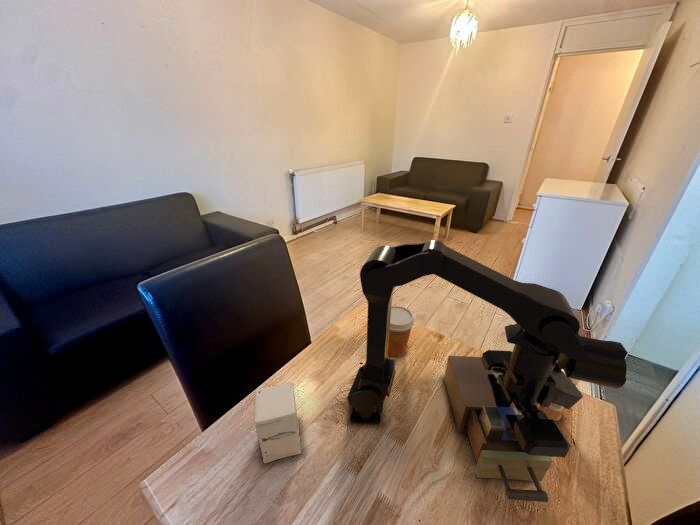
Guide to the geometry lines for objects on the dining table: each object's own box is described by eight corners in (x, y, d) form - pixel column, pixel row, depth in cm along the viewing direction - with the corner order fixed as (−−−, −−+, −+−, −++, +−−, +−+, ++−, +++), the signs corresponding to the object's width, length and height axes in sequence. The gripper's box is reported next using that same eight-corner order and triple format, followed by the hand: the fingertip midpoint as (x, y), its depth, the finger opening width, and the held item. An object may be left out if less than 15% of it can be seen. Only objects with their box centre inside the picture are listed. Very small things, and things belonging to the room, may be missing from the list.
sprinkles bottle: (564, 414, 63) (586, 371, 57) (554, 425, 61) (576, 381, 55) (542, 399, 67) (561, 357, 61) (532, 409, 64) (550, 366, 58)
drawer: (557, 515, 46) (571, 495, 44) (486, 510, 47) (495, 490, 44) (510, 416, 62) (518, 396, 59) (457, 413, 63) (462, 394, 60)
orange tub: (415, 344, 83) (420, 311, 78) (403, 366, 76) (407, 331, 70) (386, 333, 88) (388, 300, 82) (371, 352, 80) (373, 318, 75)
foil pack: (521, 420, 55) (526, 407, 53) (532, 441, 51) (538, 429, 49) (478, 417, 55) (482, 405, 53) (486, 439, 51) (491, 426, 50)
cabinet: (520, 435, 59) (531, 410, 55) (458, 432, 60) (465, 406, 56) (494, 381, 71) (502, 357, 68) (443, 379, 72) (448, 355, 68)
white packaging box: (263, 465, 54) (252, 423, 48) (263, 428, 61) (254, 388, 55) (302, 455, 56) (296, 413, 50) (298, 420, 62) (292, 379, 57)
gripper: (631, 423, 37) (585, 487, 44) (549, 328, 53) (526, 385, 60) (542, 418, 37) (511, 482, 44) (488, 325, 54) (472, 383, 61)
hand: (506, 425), depth 52 cm, fingers closed on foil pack, 4 cm apart
